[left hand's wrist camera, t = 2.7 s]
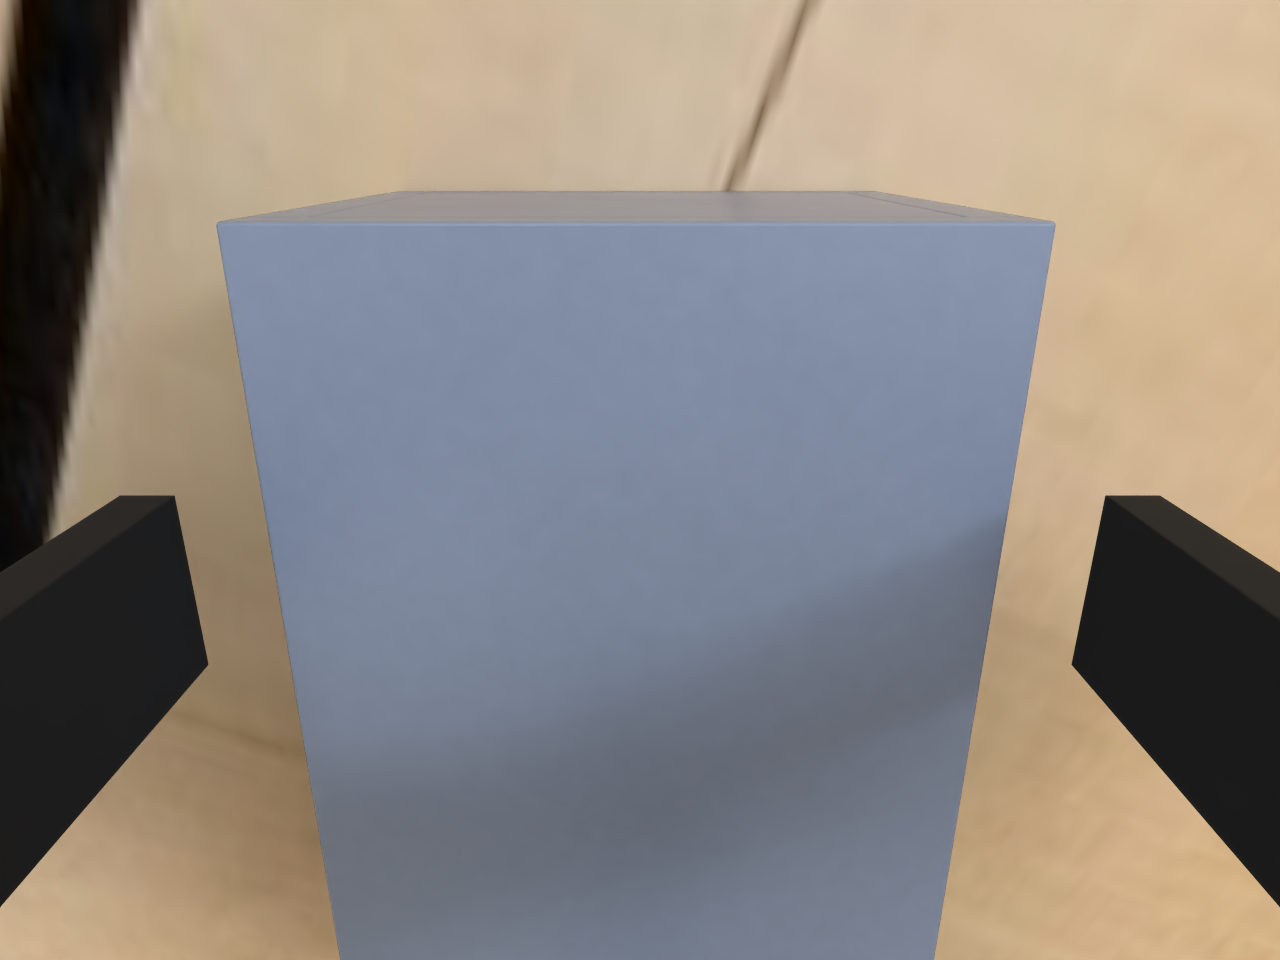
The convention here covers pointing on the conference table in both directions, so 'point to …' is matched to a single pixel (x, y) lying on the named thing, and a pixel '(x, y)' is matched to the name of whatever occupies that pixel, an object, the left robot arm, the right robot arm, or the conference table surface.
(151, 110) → the conference table surface
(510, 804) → the cabinet
